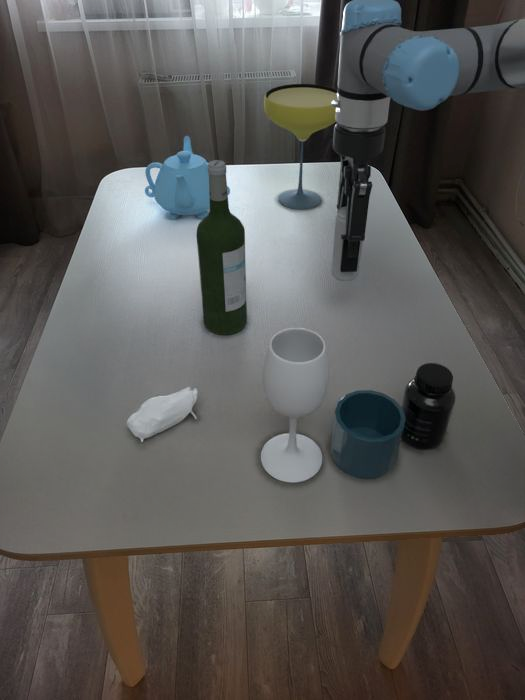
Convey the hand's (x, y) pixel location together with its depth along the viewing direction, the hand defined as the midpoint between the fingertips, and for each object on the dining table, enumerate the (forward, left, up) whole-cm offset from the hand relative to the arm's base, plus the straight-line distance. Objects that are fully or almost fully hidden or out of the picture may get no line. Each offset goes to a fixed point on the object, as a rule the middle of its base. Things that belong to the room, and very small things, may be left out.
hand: (345, 261), depth 96 cm
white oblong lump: (+3, +40, -12) cm, 42 cm away
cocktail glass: (+36, -32, -12) cm, 50 cm away
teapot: (+53, -10, -12) cm, 55 cm away
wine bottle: (+14, +16, -12) cm, 24 cm away
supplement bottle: (-26, +15, -12) cm, 32 cm away
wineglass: (-15, +31, -12) cm, 37 cm away
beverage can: (0, 0, -3) cm, 3 cm away
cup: (-22, +24, -12) cm, 34 cm away
